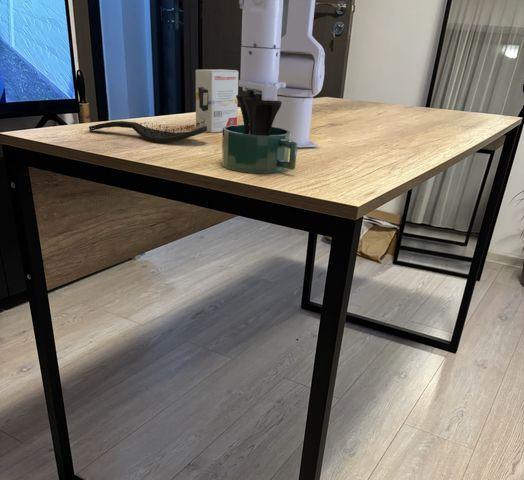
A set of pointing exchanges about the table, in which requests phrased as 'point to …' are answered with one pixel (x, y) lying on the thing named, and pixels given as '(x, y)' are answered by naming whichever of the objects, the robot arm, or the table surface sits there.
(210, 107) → the ink box
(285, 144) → the green coffee mug
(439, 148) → the table surface
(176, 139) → the hairbrush
